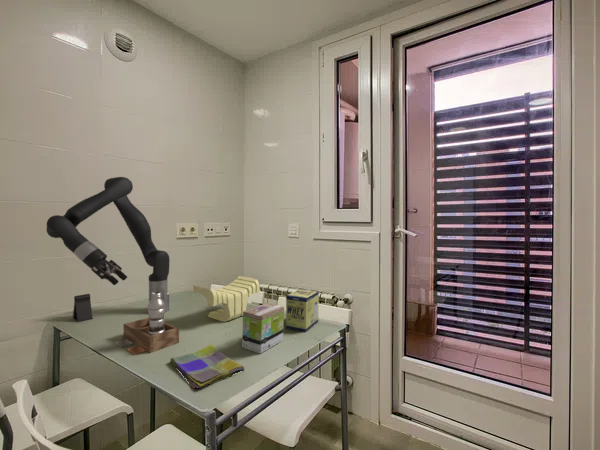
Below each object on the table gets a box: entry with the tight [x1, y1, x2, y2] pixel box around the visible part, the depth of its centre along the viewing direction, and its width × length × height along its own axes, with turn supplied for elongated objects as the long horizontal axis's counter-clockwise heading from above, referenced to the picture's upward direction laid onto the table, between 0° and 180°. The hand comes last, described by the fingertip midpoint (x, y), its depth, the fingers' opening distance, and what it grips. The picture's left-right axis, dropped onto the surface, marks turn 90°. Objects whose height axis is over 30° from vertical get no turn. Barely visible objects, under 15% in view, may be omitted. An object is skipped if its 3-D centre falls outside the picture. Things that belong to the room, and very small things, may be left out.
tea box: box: [241, 302, 285, 354], centre depth 121 cm, size 15×10×15 cm, turn 148°
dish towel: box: [169, 344, 245, 390], centre depth 102 cm, size 18×24×3 cm
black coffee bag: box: [72, 293, 93, 323], centre depth 149 cm, size 9×6×12 cm, turn 51°
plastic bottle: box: [147, 291, 165, 336], centre depth 120 cm, size 6×7×20 cm
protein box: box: [285, 288, 320, 333], centre depth 142 cm, size 10×16×16 cm
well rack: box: [115, 316, 180, 356], centre depth 122 cm, size 16×23×6 cm
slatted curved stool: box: [192, 275, 260, 323], centre depth 154 cm, size 30×16×18 cm, turn 144°
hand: (121, 281), depth 124 cm, fingers open, 8 cm apart
